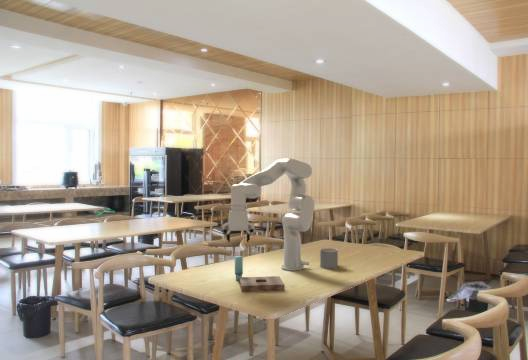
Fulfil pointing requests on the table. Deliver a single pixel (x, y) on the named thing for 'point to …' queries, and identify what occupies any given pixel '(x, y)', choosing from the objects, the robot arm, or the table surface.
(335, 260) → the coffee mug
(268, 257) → the table surface
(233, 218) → the robot arm
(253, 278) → the walnut board
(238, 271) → the teal peg
